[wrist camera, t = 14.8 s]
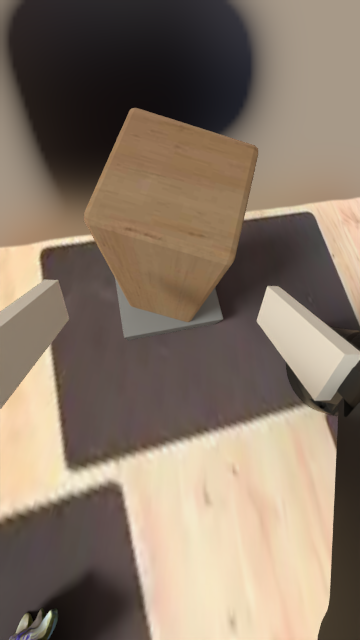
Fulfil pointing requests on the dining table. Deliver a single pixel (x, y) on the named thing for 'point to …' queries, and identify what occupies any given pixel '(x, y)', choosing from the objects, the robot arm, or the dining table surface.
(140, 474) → the dining table surface
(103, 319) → the dining table surface
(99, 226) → the wooden block
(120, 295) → the plinth
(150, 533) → the dining table surface
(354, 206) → the dining table surface
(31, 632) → the passion flower
